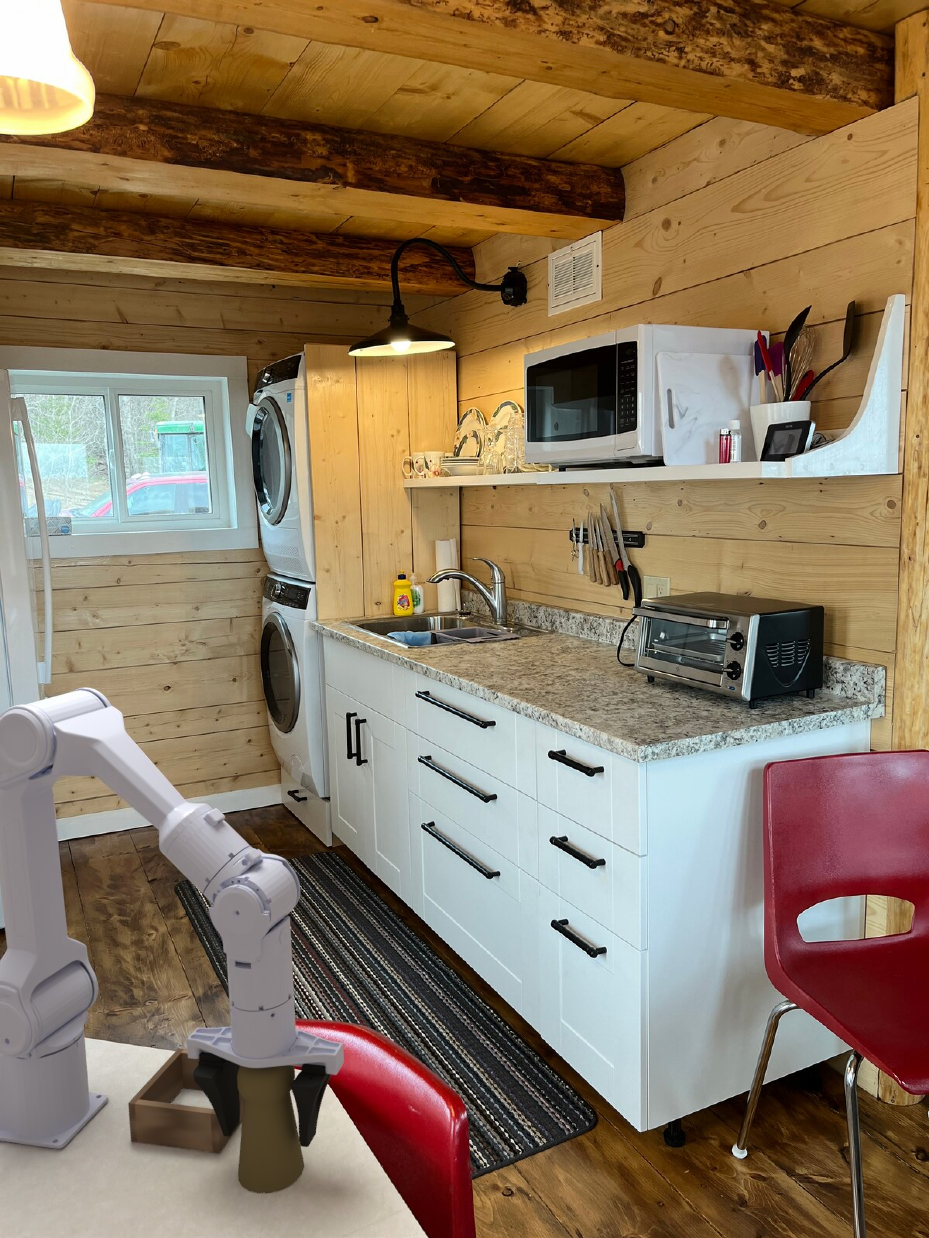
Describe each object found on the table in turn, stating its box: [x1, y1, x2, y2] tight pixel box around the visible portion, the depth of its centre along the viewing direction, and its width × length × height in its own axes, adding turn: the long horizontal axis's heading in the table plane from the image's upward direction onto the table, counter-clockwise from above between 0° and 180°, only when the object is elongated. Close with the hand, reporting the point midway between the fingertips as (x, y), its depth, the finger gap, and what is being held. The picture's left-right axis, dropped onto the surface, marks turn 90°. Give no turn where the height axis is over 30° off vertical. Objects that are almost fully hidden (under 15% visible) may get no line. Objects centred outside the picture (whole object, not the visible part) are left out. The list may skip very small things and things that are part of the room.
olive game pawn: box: [237, 1065, 305, 1194], centre depth 86 cm, size 6×6×11 cm
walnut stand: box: [127, 1047, 244, 1154], centre depth 94 cm, size 9×9×4 cm
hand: (269, 1134), depth 86 cm, fingers open, 7 cm apart
